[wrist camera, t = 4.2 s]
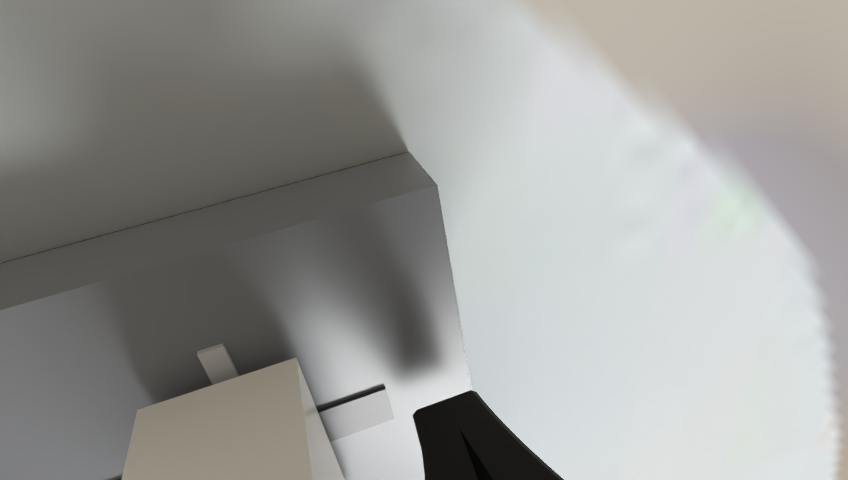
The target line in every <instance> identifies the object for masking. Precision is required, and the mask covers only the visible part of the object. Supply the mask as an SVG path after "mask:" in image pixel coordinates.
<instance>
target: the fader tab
mask: <svg viewBox="0 0 848 480" xmlns="http://www.w3.org/2000/svg"><path fill="white" fill-rule="evenodd" d="M121 480H345V479H344V477H343V474H342V472H341V469H340V467H339V464H338V461H337V459H336V456H335V454H334V451H333V449H332V446H331V444H330V441H329V439H328V436H327V434H326V431H325V429H324V426H323V424H322V421H321V419H320V416H319V414H318V411H317V408H316V406H315V403H314V401H313V398H312V396H311V393H310V391H309V388H308V386H307V383H306V381H305V378H304V376H303V373H302V371H301V368H300V366H299V363H298V360H297V358H293V359H290V360H287V361H284V362H281V363H278V364H275V365H272V366H269V367H266V368H263V369H260V370H257V371H254V372H250V373H247V374H244V375H241V376H238V377H235V378H232V379H229V380H226V381H223V382H220V383H217V384H214V385H211V386H208V387H205V388H202V389H199V390H196V391H193V392H190V393H187V394H184V395H181V396H178V397H175V398H172V399H169V400H166V401H163V402H160V403H157V404H154V405H151V406H148V407H145V408H142V409H139V410H137V414H136V418H135V422H134V427H133V431H132V435H131V440H130V444H129V448H128V453H127V457H126V461H125V466H124V470H123V474H122V479H121Z"/></svg>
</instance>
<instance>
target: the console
mask: <svg viewBox="0 0 848 480" xmlns="http://www.w3.org/2000/svg"><path fill="white" fill-rule="evenodd" d="M293 358H297V360H298V363H299V366H300V368H301V371H302V373H303V376H304V378H305V381H306V383H307V386H308V388H309V391H310V393H311V396H312V398H313V401H314V403H315V406H316V408H317V411H318V414H319V416H320V419H321V421H322V424H323V426H324V429H325V431H326V434H327V436H328V439H329V441H330V444H331V446H332V449H333V451H334V454H335V456H336V459H337V461H338V464H339V467H340V469H341V472H342V474H343V477H344V479H345V480H425V474H424V465H423V457H422V450H421V446H420V442H419V438H418V435H417V431H416V427H415V423H414V419H413V414H414V413H415V411H416V410H417V409H420V408H423V407H426V406H429V405H431V404H434V403H437V402H440V401H442V400H445V399H448V398H451V397H453V396H456V395H459V394H462V393H465V392H467V391H470V390H472V387H471V381H470V375H469V369H468V363H467V357H466V351H465V346H464V340H463V334H462V328H461V322H460V316H459V311H458V305H457V299H456V293H455V287H454V281H453V275H452V270H451V264H450V258H449V252H448V246H447V240H446V235H445V229H444V223H443V217H442V211H441V205H440V199H439V194H438V188H437V184H436V183H435V182H434V181H433V179H432V178H431V177H430V176H429V175H428V174H427V172H426V171H425V170H424V169H423V168H422V166H421V165H420V164H419V163H418V162H417V161H416V159H415V158H414V157H413V156H412V155H411V153H410V152H406V153H403V154H399V155H395V156H392V157H388V158H384V159H381V160H377V161H374V162H370V163H366V164H363V165H359V166H355V167H352V168H348V169H344V170H341V171H337V172H333V173H330V174H326V175H322V176H319V177H315V178H311V179H308V180H304V181H301V182H297V183H293V184H290V185H286V186H282V187H279V188H275V189H271V190H268V191H264V192H260V193H257V194H253V195H249V196H246V197H242V198H238V199H235V200H231V201H228V202H224V203H220V204H217V205H213V206H209V207H206V208H202V209H198V210H195V211H191V212H187V213H184V214H180V215H176V216H173V217H169V218H165V219H162V220H158V221H155V222H151V223H147V224H144V225H140V226H136V227H133V228H129V229H125V230H122V231H118V232H114V233H111V234H107V235H103V236H100V237H96V238H92V239H89V240H85V241H82V242H78V243H74V244H71V245H67V246H63V247H60V248H56V249H52V250H49V251H45V252H41V253H38V254H34V255H30V256H27V257H23V258H19V259H16V260H12V261H8V262H5V263H1V264H0V480H121V479H122V474H123V470H124V466H125V461H126V457H127V453H128V448H129V444H130V440H131V435H132V431H133V427H134V422H135V418H136V414H137V410H139V409H142V408H145V407H148V406H151V405H154V404H157V403H160V402H163V401H166V400H169V399H172V398H175V397H178V396H181V395H184V394H187V393H190V392H193V391H196V390H199V389H202V388H205V387H208V386H211V385H214V384H217V383H220V382H223V381H226V380H229V379H232V378H235V377H238V376H241V375H244V374H247V373H250V372H254V371H257V370H260V369H263V368H266V367H269V366H272V365H275V364H278V363H281V362H284V361H287V360H290V359H293Z"/></svg>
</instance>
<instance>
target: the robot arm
mask: <svg viewBox="0 0 848 480" xmlns="http://www.w3.org/2000/svg"><path fill="white" fill-rule="evenodd" d="M413 419H414V423H415V427H416V431H417V435H418V438H419V442H420V446H421V450H422V457H423V465H424V474H425V480H564V479H562V478H561V477H560V476H559V475H558V474H557V473H555V472H554V471H553V470H552V469H551V468H550V467H549V466H548V465H546V464H545V463H544V462H543V461H542V460H541V459H540V458H539V457H538V456H537V455H536V454H535V453H533V452H532V451H531V450H530V449H529V448H528V447H527V446H526V445H525V444H524V443H523V442H522V441H521V440H520V439H519V438H518V437H517V436H516V435H515V434H514V433H513V432H512V431H511V430H510V429H509V428H508V427H507V426H506V425H505V424H504V423H503V422H502V421H501V420H500V419H499V418H498V417H497V416H496V415H495V414H494V412H493V411H492V410H491V409H490V408H489V407H488V406H487V404H486V403H485V402H484V401H483V400H482V399H481V397H480V396H479V395H478V394H477V392H474V391H472V390H470V391H467V392H465V393H462V394H459V395H456V396H453V397H451V398H448V399H445V400H442V401H440V402H437V403H434V404H431V405H429V406H426V407H423V408H420V409H417V410H416V411H415V413H414V414H413Z"/></svg>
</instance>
